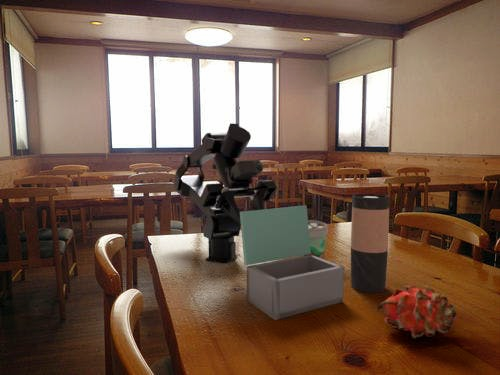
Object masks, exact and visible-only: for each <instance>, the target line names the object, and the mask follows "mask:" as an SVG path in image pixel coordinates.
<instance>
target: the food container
mask: <svg viewBox="0 0 500 375" xmlns="http://www.w3.org/2000/svg"><path fill="white" fill-rule="evenodd" d="M308 227H309V237H310V248H311V254H307V255H313V256H316V257H319V258H321V259H324V260H325V249H326V240H327V239H326V237H327V235H329V227H328V226H327V223H325V222H323V221H318V220H312V219H311V220H309V219H308ZM302 256H306V255H302Z"/></svg>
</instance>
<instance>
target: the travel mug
mask: <svg viewBox="0 0 500 375" xmlns="http://www.w3.org/2000/svg"><path fill="white" fill-rule="evenodd" d="M351 202H352V203H351V204H352V205H351V229H350V230H351V232H350V286H351V288H352V289H353V290H354V291H355V290H356V291H357V292H361V293H364V294H365V293H367V294H378V293H379V294H380V293H382V292H384V291H385V290H386V281H387V269H388V254H389V251H388V250H389V234H390V233H389V228H390V195H389V194H388V195H387V194H382V193H377V194H376V195H372V196H370V195H367V194H366V193H354V194H352V200H351Z"/></svg>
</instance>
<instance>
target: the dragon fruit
mask: <svg viewBox="0 0 500 375" xmlns="http://www.w3.org/2000/svg"><path fill="white" fill-rule="evenodd" d="M423 288H425V289H423ZM380 311H381V312H382V313H383V314H384V315H386V317H384V322H385V323H386V324H389V326H390V327H391V328H393V329H397V328H398V329H399V330H401V331H404V332H411V337H412V338H413V339H417V338H420V337H423V336H424V335H425V336H426V337H427V338H428V337H429V338H430V337H431V338H432V337H434V335H436V332H437V331H438V332H439V333H442V334H443V333H444V334H447V333H449V330H450V329H451V328H452V326H453V323H454V320H455V318H456V316H457V315H458V313H457V311H455V306H454V305H453V304H452V303H451V302H450V301H449V300H448V297H446V296H445V295H442V294H440V293H436V291H435V290H434V289H432V288H431V287H430V286H428V285H423V287H416V286H415V285H411V284H410V285H405V287H404V288H401V289H399V288H398V289H395V291H394V293H393V294H392V295H391V296H390V297H388V298H386V300H384V301H382V302H380V304H379V305H378V306H377V307H376V312H380ZM387 315H388V316H387Z"/></svg>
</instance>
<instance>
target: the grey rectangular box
mask: <svg viewBox="0 0 500 375" xmlns="http://www.w3.org/2000/svg"><path fill="white" fill-rule="evenodd" d="M344 269H345V267H344V266H342V265H339V264H338V263H333V262H331V261H329V260H326V259H325V258H324V259H321V258H319V257H316V256H313V255H306V256H303V255H301V256H296V257H290V258H285V259H279V260H273V261H268V262H262V263H257V264H251V265H246V301H247V302H248V303H250V304H251V305H253V306H254V307H255V308H257V309H259V310H260V311H261V312H262V313H263V314H266V315H267V316H268V317H269V318H271V319H272V320H274V321H277V320H281V319H284V318H288V317H292V316H297V315H300V314H302V313H306V312H307V313H308V312H310V311H314V310H318V309H321V308H325V307H328V306H333V305H336V304H340V303H343V302H344V301H343V300H344V276H345V274H344V273H345V271H344Z"/></svg>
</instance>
